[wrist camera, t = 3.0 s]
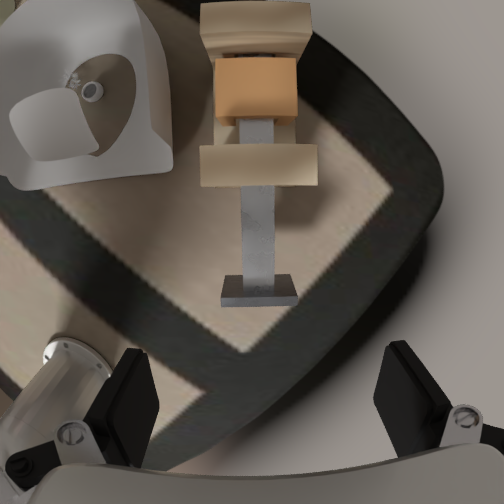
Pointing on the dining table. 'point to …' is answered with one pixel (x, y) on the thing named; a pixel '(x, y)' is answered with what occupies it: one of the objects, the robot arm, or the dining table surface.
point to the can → (6, 10)
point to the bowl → (66, 100)
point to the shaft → (257, 235)
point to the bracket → (284, 148)
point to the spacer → (255, 89)
